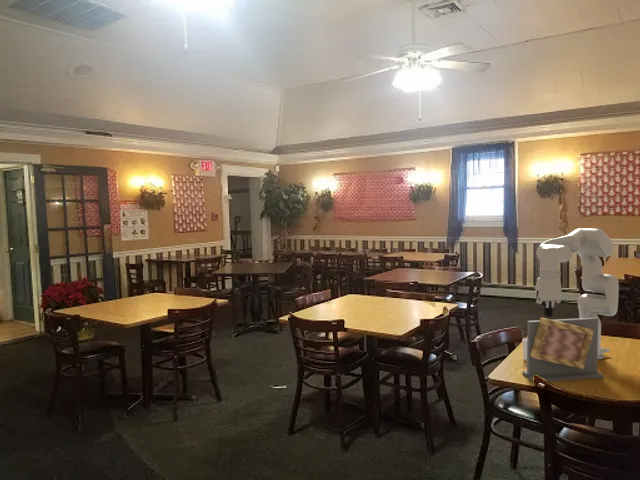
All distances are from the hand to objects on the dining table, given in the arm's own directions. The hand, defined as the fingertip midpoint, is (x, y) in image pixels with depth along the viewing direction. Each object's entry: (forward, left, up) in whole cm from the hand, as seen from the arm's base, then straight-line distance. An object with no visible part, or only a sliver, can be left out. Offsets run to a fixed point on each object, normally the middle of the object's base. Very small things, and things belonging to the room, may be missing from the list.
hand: (548, 316), depth 217 cm
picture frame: (-4, 0, -21) cm, 22 cm away
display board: (-9, -3, -29) cm, 30 cm away
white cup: (-7, -27, -29) cm, 40 cm away
